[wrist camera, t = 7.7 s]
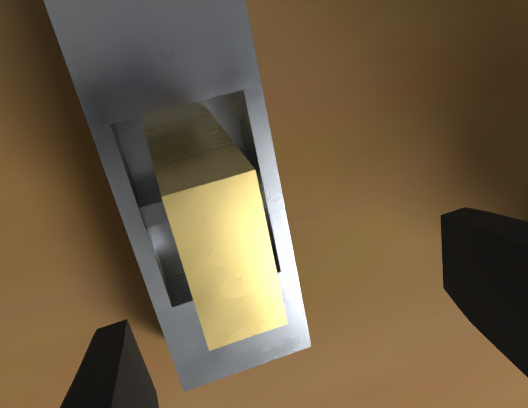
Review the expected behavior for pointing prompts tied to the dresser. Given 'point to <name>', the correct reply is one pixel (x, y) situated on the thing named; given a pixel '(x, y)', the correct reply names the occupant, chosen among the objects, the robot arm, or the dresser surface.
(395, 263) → the dresser surface
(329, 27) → the dresser surface
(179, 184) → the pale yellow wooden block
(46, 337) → the dresser surface
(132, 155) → the rail
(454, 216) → the robot arm
